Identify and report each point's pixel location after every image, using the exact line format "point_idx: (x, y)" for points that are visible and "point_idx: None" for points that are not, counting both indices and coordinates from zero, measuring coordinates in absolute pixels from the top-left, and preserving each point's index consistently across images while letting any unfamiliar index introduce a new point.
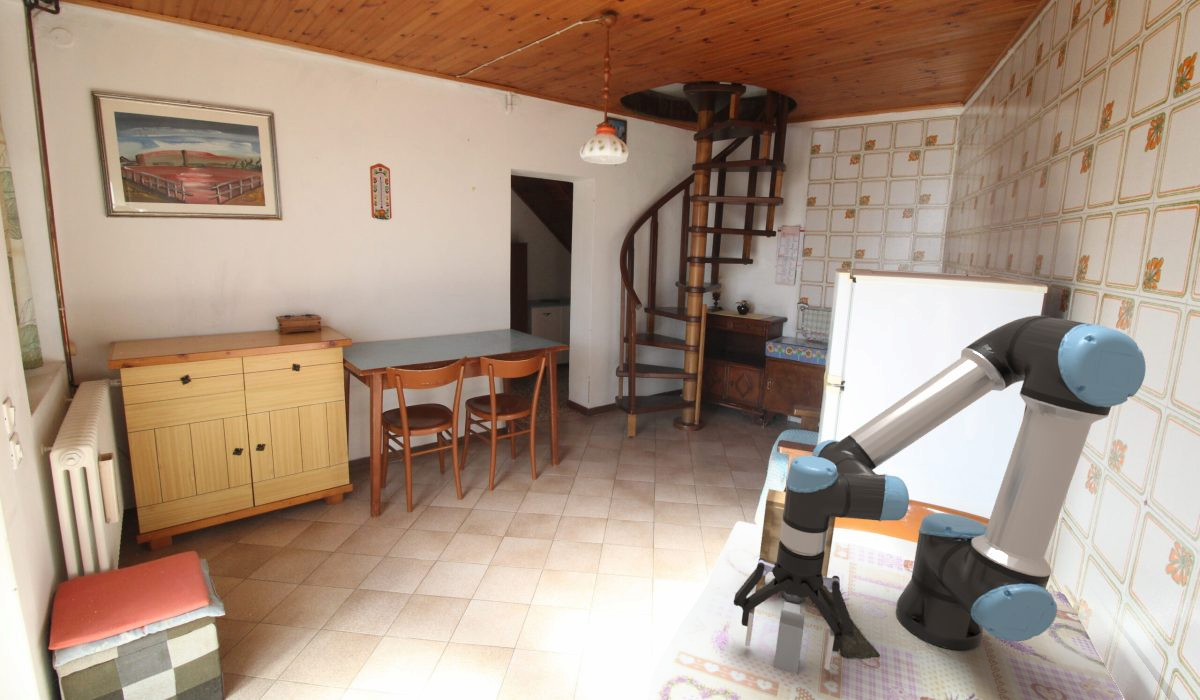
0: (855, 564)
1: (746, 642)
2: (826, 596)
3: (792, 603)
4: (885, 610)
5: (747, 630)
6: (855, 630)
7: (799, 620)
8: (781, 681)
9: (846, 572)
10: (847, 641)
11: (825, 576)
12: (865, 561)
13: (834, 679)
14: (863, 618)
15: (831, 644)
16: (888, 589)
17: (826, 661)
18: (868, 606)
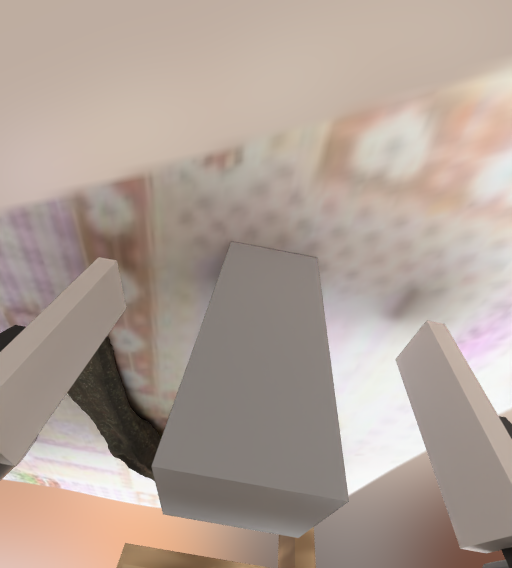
0: (123, 486)
1: (447, 334)
2: (149, 464)
3: None
4: (53, 431)
5: (481, 392)
6: (78, 398)
7: (188, 502)
8: (301, 186)
9: (134, 478)
10: (89, 371)
11: (128, 546)
12: (110, 488)
13: (103, 242)
14: (84, 417)
15: (2, 360)
16: (63, 458)
17: (92, 281)
18: (83, 436)
